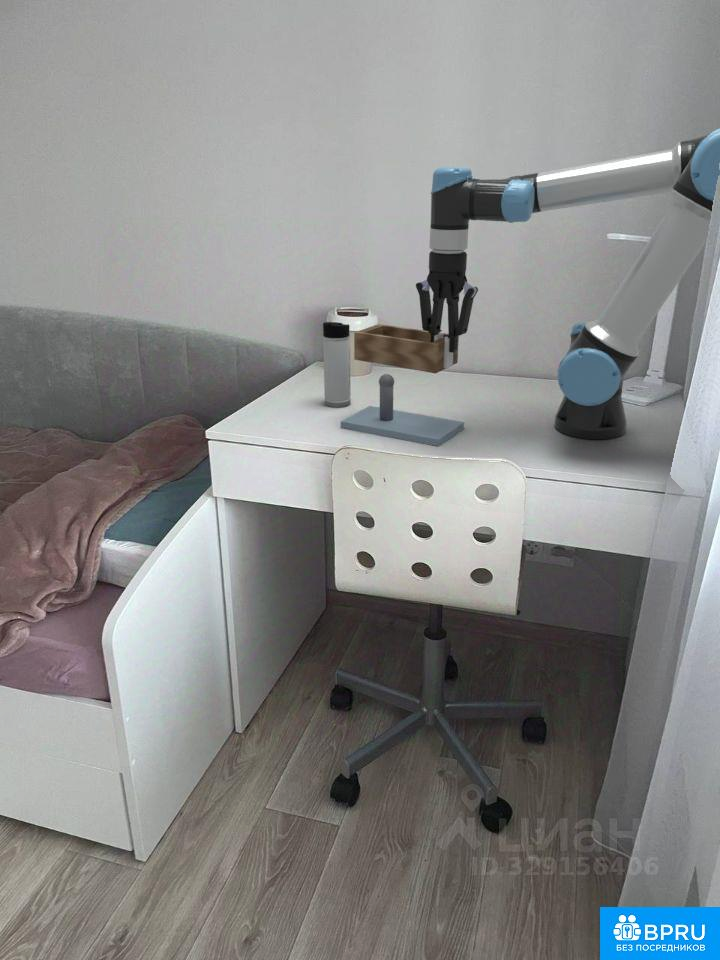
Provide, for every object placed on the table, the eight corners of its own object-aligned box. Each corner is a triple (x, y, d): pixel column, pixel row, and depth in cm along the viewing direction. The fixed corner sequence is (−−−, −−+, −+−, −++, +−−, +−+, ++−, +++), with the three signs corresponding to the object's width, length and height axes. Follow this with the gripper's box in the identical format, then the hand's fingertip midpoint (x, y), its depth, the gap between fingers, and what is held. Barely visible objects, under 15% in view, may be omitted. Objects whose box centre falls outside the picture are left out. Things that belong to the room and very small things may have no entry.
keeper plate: (464, 428, 175) (466, 376, 171) (438, 446, 165) (440, 392, 160) (369, 411, 186) (369, 363, 182) (340, 427, 176) (339, 376, 172)
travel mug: (318, 404, 192) (316, 321, 184) (338, 398, 197) (336, 317, 189) (336, 409, 188) (334, 325, 180) (356, 403, 192) (355, 321, 185)
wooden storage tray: (457, 362, 171) (458, 335, 168) (435, 373, 163) (436, 344, 161) (378, 350, 181) (378, 323, 178) (354, 359, 173) (354, 332, 171)
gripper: (490, 251, 157) (482, 367, 166) (424, 246, 165) (420, 357, 174) (474, 255, 151) (467, 375, 161) (406, 249, 159) (403, 364, 168)
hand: (442, 365), depth 167 cm, fingers closed on wooden storage tray, 2 cm apart
